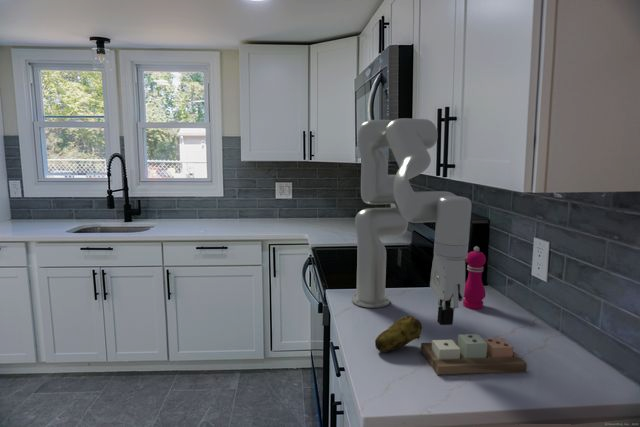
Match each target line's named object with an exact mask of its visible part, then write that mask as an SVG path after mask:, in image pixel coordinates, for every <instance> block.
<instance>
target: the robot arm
mask: <svg viewBox="0 0 640 427" xmlns="http://www.w3.org/2000/svg"><path fill="white" fill-rule="evenodd" d="M437 141H438V130H437V127H436V125H435V123H434V122H433V121H431V120H430V119H425V118H409V117H407V118H406V117H405V118H404V117H403V118H396V119H393V120H392V119H370V120H366V121H364V122H363V123H362V124H361V125H360V126H359V129H358V132H357V146H358V151H359V155H360V159H361V160H360V161H361V163H360V164H361V165H360V167H361V168H360V169H361V170H360V197H361V200H362V201H363V203H365V204H368V205H390V207H373V208H372V207H370V208H364V209H361V210H360V211H359V212H357V214H356V215H355V218H354V223H355V231H356V241H357V246H356V247H357V251H356V252H357V258H356V260H357V261H356V262H357V263H356V264H357V265H356V293H355V294H353V295H352V296H351V303H353V304H354V305H356V306H359V307H363V308H370V309H377V308H378V309H379V308H383V307H386V306H388V305H389V304H390V298H389V297H388V296H387V295H386V277H387V275H386V274H387V272H386V271H387V249H386V247H385V245H384V244H383V242H382V241H381V238H385V237H386V238H387V237H399V236H402V235H404V234H405V233H406V232H407V230H408V227H409V223H414V224H417V223H418V224H419V223H435V230H434V232H435V233H434V243H433V244H434V245H433V246H434V247H433V258H432V265H431V272H430V279H429V280H430V281H429V287H430V289H431V291H432V292H433V293H434V294H435V295H436V296H437V298H438V299H437V304H438V306H437V307H438V308H437V323H438V324H439V325H440V326H452V325H453V324H454V314H455V312H454V311H455V309H459V302H463V299H465V297H464V291H465V283H466V258H467V254H468V253H469V252H468V251H469V242H470V228H471V218H472V217H471V216H472V201H471V200H470V198H468V197H464V196H460V195H456V194H455V193H453V192H450V191H443V190H440V191H438V190H437V191H431V190H430V191H426V190H425V191H414V190H413V187H412V186H411V183H410V181H409V180H411V179H412V178H414V177H415V178H416V177H417V176H419V175H421V174H422V173H424V172H425V171H426V170H427V169H428V168H429V166H430V165H431V161H432V159H431V155H430V153H429V151H428V150H430V149H431V148H433V147H434V146H435V145H436V143H437ZM382 149H390V150H391V152H392V154H393V156H394V159H395V161H396V163H397V166H398V170H397V172H396V174H389V160H388V157H387V156H386V154H385V151H383V150H382Z"/></svg>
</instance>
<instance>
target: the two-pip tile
mask: <svg viewBox="0 0 640 427" xmlns="http://www.w3.org/2000/svg"><path fill="white" fill-rule="evenodd" d="M483 339H484V338H482V337H481V335H479V334H478V333H474V334H472V333H471V334H469V333H468V334H457V342H458V345H457V346H458V347H459V348H460V354H461V355H462V356H463V357H464V358H465V359H473V358H486V355H487V342H485V341H484V340H483Z"/></svg>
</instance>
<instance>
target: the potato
mask: <svg viewBox="0 0 640 427" xmlns="http://www.w3.org/2000/svg"><path fill="white" fill-rule="evenodd" d="M422 329H423V325H422V323H421V322H420V320H419V319H418V318H416V317H414V316H412V315H411V316H410V315H405V316H402V317H401V318H399V319H398V320H396V321H394V323H392V324H391V325H390V326H389V327H388V328H386V330H383V331H382V332H381V333H380V334H378V336H377V337H376V338H375V348H376V350H378V351H379V352H381V353H388V352H390V351H393V350H397V349H400V348H403V347H404V346H406V345H407V344H409V343H411V342H412V341H414V340H416V339H417V340H419V339H420V338H421V334H422V331H423V330H422Z"/></svg>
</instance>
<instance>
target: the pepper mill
mask: <svg viewBox="0 0 640 427" xmlns="http://www.w3.org/2000/svg"><path fill="white" fill-rule="evenodd" d="M486 260H487V258H486V255H485V254H484V253H483V252H482V251H480V247H479V246H474V247H473V251H470V252H468V254H467V258H466V259H465V262H467V268H466V270H467V272H468V276H467V279H466V280H465V291H464V298H463V300H462V305H463V307H465V308H468V309H470V310H481V309H483V308H484V301H483V300H484V299H485V298H486V288H485V286H484V283H483V281H482V275H483V272H484V265H485V264H486V262H487V261H486Z"/></svg>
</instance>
